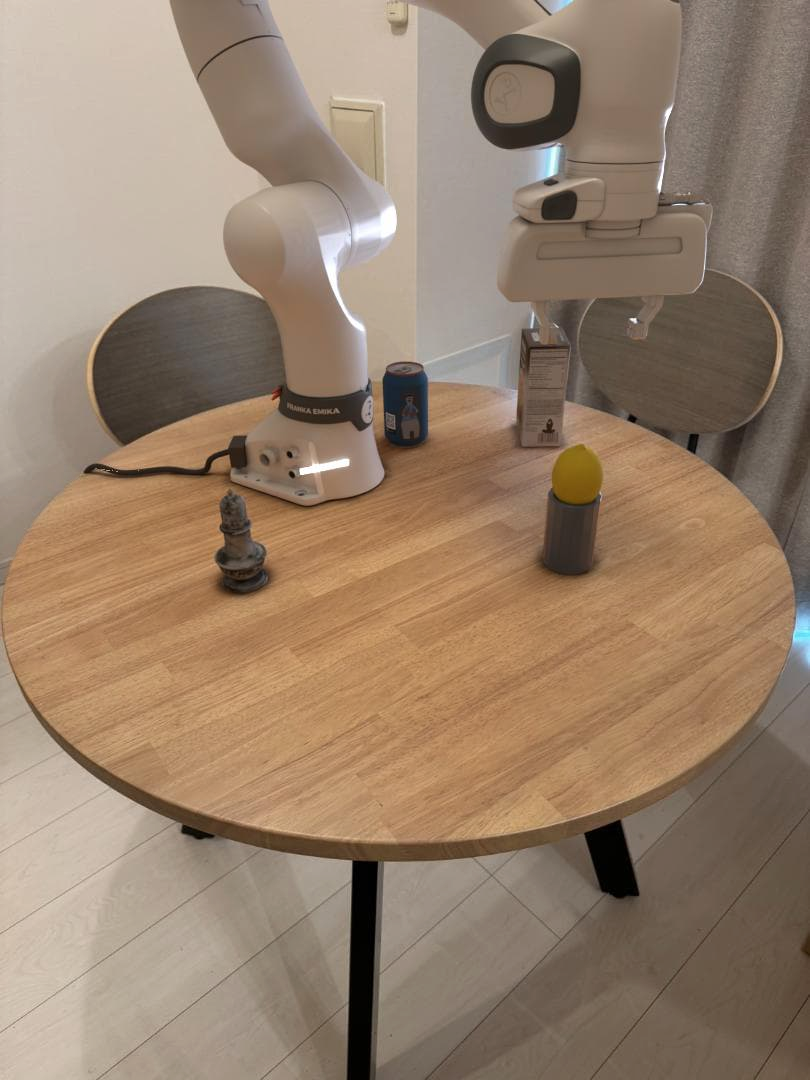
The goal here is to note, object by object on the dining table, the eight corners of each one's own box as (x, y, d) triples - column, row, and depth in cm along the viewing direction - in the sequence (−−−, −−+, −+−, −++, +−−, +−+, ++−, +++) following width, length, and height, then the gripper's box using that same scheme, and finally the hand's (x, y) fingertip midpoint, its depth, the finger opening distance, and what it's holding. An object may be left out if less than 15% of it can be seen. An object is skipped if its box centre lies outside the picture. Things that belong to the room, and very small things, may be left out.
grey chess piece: (279, 570, 87) (266, 480, 81) (254, 598, 82) (239, 505, 76) (235, 562, 89) (220, 473, 82) (209, 589, 84) (190, 497, 78)
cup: (537, 569, 86) (543, 502, 81) (548, 544, 91) (555, 479, 86) (587, 579, 84) (596, 511, 79) (596, 553, 89) (605, 487, 84)
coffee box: (514, 423, 122) (520, 326, 113) (553, 423, 122) (562, 326, 113) (521, 447, 114) (528, 345, 105) (562, 447, 114) (572, 344, 105)
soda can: (406, 428, 121) (405, 356, 115) (437, 440, 117) (437, 366, 111) (375, 441, 117) (372, 368, 111) (406, 454, 113) (404, 378, 107)
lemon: (544, 516, 82) (550, 451, 78) (554, 493, 87) (561, 431, 82) (594, 525, 81) (602, 458, 76) (602, 501, 85) (611, 437, 81)
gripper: (700, 186, 72) (675, 326, 80) (497, 192, 70) (490, 336, 78) (732, 195, 67) (702, 344, 75) (513, 202, 65) (504, 355, 73)
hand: (592, 340), depth 76 cm, fingers open, 8 cm apart
